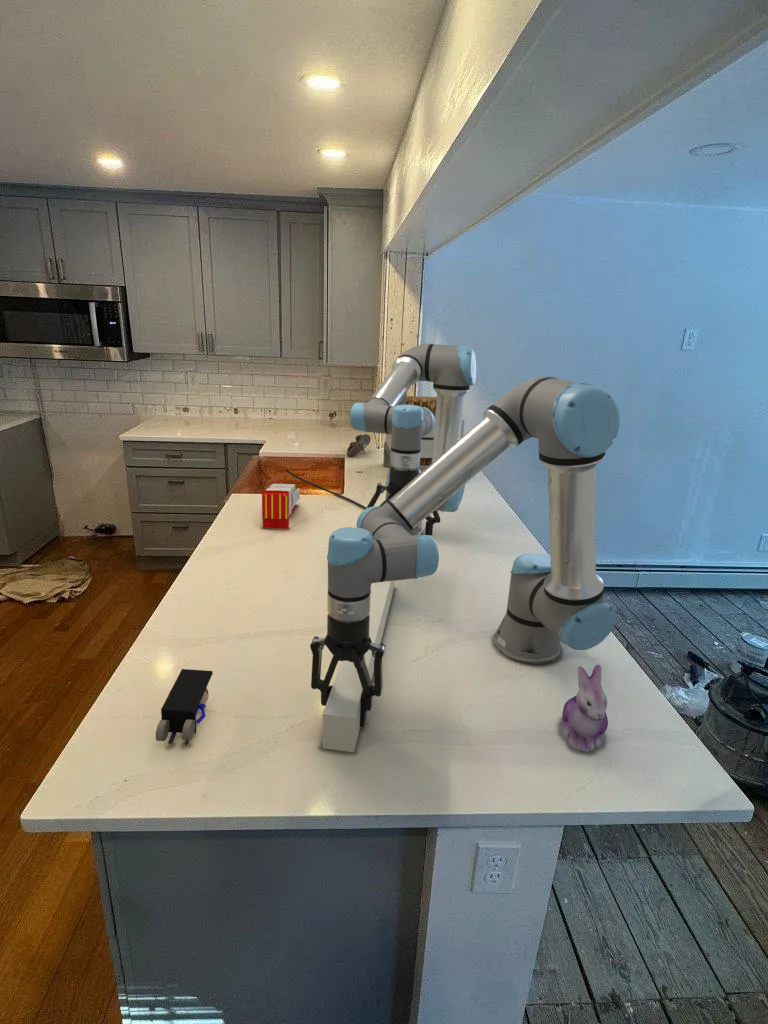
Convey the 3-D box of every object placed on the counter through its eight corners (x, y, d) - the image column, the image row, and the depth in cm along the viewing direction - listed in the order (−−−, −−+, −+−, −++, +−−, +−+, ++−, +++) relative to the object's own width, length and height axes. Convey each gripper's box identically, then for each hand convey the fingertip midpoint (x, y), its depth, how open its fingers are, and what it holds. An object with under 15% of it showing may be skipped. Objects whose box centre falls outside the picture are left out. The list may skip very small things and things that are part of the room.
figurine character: (195, 758, 100) (216, 696, 113) (191, 727, 96) (213, 666, 110) (157, 758, 99) (182, 695, 113) (151, 726, 96) (178, 666, 110)
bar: (374, 586, 162) (375, 562, 159) (394, 588, 161) (395, 563, 158) (322, 748, 102) (322, 713, 99) (354, 752, 101) (355, 717, 99)
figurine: (585, 761, 101) (600, 692, 96) (546, 725, 110) (557, 659, 104) (622, 745, 105) (638, 678, 100) (581, 712, 114) (594, 648, 109)
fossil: (346, 440, 316) (367, 425, 311) (357, 453, 319) (378, 438, 314) (340, 453, 296) (362, 438, 291) (351, 468, 299) (374, 452, 294)
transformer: (382, 463, 289) (386, 382, 275) (445, 464, 293) (451, 384, 279) (390, 482, 257) (394, 392, 243) (460, 483, 261) (468, 394, 247)
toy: (301, 479, 224) (291, 492, 194) (301, 512, 226) (291, 530, 197) (270, 478, 223) (256, 491, 194) (271, 511, 226) (256, 529, 197)
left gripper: (354, 468, 141) (351, 547, 148) (454, 474, 140) (447, 553, 147) (357, 460, 148) (354, 536, 155) (452, 466, 147) (446, 542, 154)
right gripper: (291, 619, 98) (292, 727, 106) (399, 630, 96) (392, 740, 104) (302, 598, 105) (303, 701, 113) (403, 608, 103) (397, 713, 111)
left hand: (399, 544), depth 151 cm, fingers open, 13 cm apart
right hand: (346, 720), depth 108 cm, fingers closed on bar, 6 cm apart
